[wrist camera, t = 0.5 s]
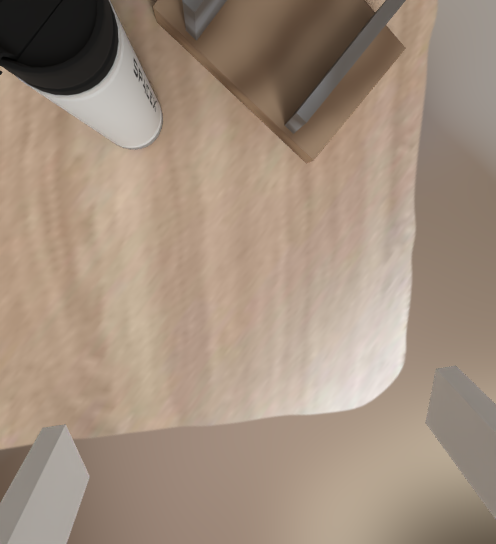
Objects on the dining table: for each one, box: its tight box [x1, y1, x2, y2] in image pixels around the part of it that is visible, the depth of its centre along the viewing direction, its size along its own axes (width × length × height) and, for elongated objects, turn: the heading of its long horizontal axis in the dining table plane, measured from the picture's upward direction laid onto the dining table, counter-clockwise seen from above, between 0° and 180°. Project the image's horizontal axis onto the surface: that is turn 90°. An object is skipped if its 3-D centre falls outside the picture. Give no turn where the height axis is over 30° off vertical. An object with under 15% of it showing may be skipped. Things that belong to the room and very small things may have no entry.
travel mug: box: [0, 0, 163, 150], centre depth 23 cm, size 6×7×20 cm
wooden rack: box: [153, 0, 406, 163], centre depth 29 cm, size 20×14×7 cm
